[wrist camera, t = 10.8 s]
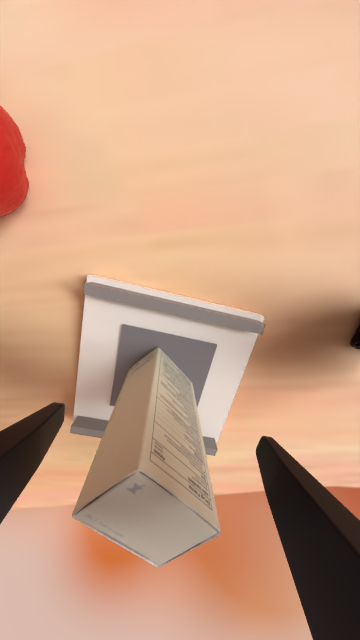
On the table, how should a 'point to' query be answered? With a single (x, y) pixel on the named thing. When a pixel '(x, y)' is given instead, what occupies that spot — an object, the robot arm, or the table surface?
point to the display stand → (171, 337)
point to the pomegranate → (11, 165)
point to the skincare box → (152, 468)
